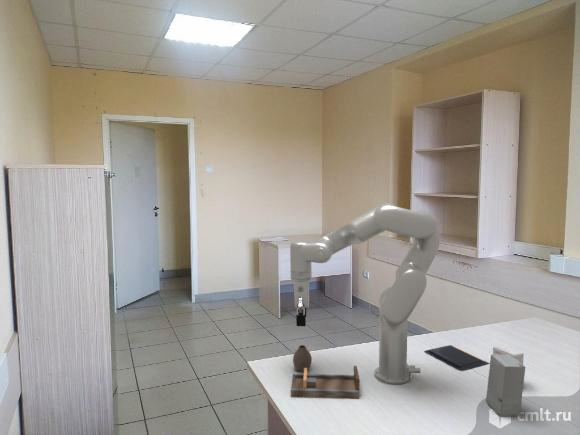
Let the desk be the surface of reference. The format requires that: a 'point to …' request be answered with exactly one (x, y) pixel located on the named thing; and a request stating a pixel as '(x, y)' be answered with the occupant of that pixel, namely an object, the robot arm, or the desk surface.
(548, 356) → the desk surface
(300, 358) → the vase
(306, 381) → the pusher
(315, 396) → the tray
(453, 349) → the wallet
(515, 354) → the ink box
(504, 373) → the skincare box
